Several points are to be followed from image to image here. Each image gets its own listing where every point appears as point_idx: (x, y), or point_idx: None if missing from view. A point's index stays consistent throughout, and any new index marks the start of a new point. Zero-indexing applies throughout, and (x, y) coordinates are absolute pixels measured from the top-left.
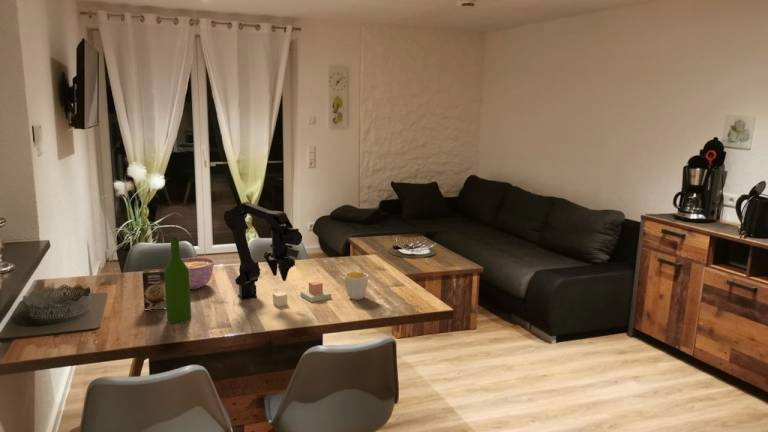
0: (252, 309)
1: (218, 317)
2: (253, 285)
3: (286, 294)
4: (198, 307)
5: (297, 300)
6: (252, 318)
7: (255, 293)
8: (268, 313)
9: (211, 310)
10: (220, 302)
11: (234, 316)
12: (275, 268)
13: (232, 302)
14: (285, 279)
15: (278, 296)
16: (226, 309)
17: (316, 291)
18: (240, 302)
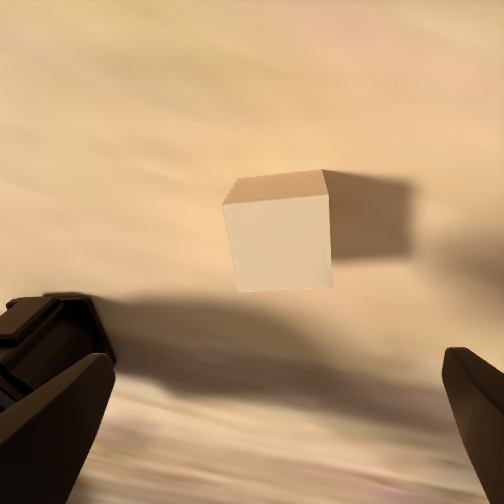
0: (300, 374)
1: (328, 492)
2: (24, 359)
3: (322, 200)
4: (170, 500)
5: (260, 46)
6: (441, 413)
7: (56, 305)
8: (422, 333)
9: (226, 485)
10: (131, 439)
11: (355, 454)
12: (22, 474)
13: (147, 407)
14: (484, 369)
15: (331, 277)
16: (240, 449)
17: None
18: (159, 383)
